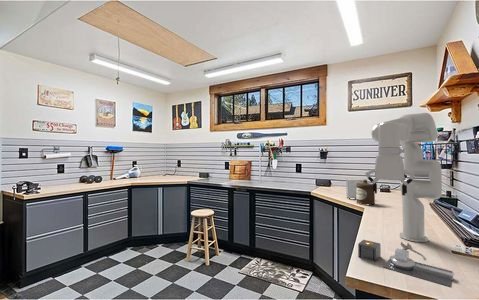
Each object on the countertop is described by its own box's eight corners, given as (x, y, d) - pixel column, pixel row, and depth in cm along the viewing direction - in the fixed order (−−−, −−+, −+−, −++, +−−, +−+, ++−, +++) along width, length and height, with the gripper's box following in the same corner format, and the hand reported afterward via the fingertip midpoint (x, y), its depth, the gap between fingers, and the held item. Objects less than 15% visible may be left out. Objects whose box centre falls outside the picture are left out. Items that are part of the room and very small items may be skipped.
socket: (363, 252, 110) (363, 239, 110) (380, 256, 105) (380, 243, 105) (358, 256, 105) (358, 243, 105) (376, 261, 100) (375, 247, 100)
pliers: (402, 256, 104) (386, 240, 123) (402, 258, 104) (386, 242, 123) (428, 259, 102) (408, 242, 121) (428, 261, 102) (408, 244, 121)
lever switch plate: (391, 256, 105) (391, 243, 105) (454, 272, 91) (453, 257, 91) (383, 267, 95) (383, 252, 95) (452, 287, 81) (451, 269, 81)
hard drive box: (362, 198, 245) (361, 178, 246) (364, 199, 238) (364, 179, 238) (346, 197, 247) (346, 178, 248) (348, 199, 240) (348, 179, 240)
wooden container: (353, 202, 224) (352, 179, 225) (366, 201, 227) (366, 178, 228) (363, 205, 210) (363, 180, 210) (378, 205, 213) (378, 180, 213)
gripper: (413, 152, 97) (413, 194, 97) (365, 152, 106) (365, 191, 105) (416, 152, 91) (417, 197, 90) (365, 152, 99) (365, 193, 98)
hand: (389, 194), depth 98 cm, fingers open, 9 cm apart
